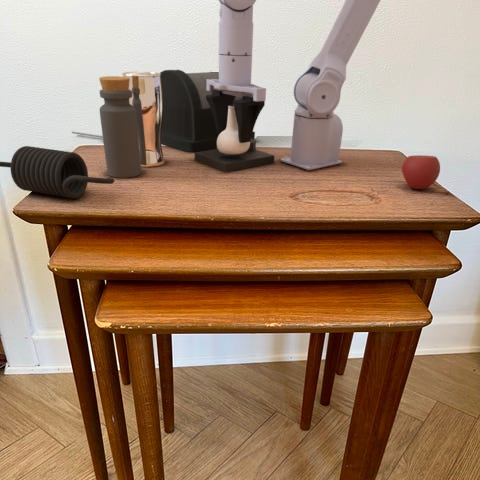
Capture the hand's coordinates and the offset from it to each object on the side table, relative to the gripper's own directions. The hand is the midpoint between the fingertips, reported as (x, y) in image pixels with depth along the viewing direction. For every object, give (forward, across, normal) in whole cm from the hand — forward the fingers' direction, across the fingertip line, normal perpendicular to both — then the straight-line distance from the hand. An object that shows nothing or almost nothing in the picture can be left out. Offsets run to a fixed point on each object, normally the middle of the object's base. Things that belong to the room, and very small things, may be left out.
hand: (233, 138), depth 86 cm
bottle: (+5, -5, -20) cm, 21 cm away
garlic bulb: (+3, 0, 0) cm, 3 cm away
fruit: (+3, +26, +16) cm, 31 cm away
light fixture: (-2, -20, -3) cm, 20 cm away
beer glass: (+5, -9, -13) cm, 17 cm away
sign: (+4, -40, -16) cm, 43 cm away
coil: (-2, -2, -31) cm, 31 cm away
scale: (+5, -2, +2) cm, 5 cm away
